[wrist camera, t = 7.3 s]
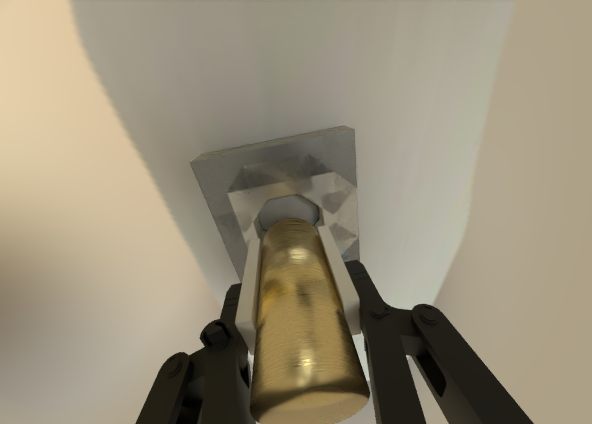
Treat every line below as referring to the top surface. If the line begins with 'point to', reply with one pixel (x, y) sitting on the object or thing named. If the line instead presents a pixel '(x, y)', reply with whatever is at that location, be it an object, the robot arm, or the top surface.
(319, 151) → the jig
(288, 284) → the brass rounded cylinder
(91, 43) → the top surface
